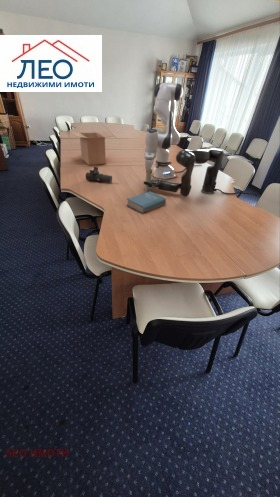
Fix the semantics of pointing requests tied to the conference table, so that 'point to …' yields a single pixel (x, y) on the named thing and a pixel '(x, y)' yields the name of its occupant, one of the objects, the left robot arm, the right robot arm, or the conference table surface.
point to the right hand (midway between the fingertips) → (144, 181)
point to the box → (92, 146)
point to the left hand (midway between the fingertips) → (148, 172)
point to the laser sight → (98, 176)
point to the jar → (148, 179)
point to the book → (146, 201)
